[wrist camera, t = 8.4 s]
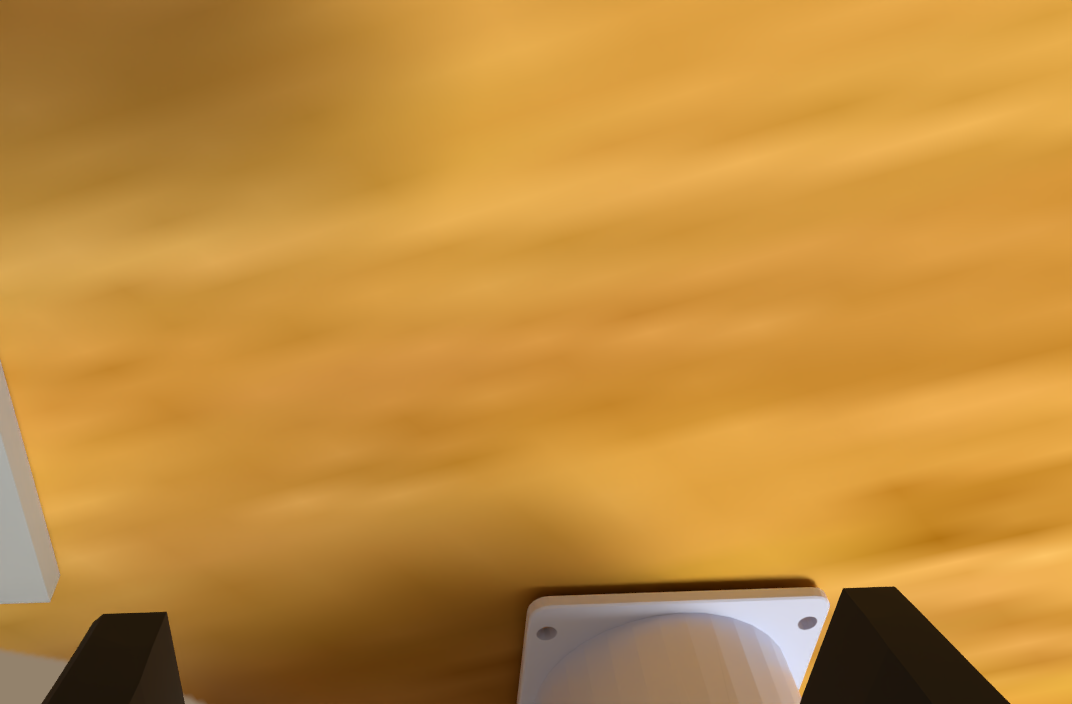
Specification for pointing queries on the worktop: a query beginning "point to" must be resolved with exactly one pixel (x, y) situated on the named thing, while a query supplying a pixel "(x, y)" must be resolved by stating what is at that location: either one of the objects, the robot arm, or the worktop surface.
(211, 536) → the worktop surface
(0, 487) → the rail
